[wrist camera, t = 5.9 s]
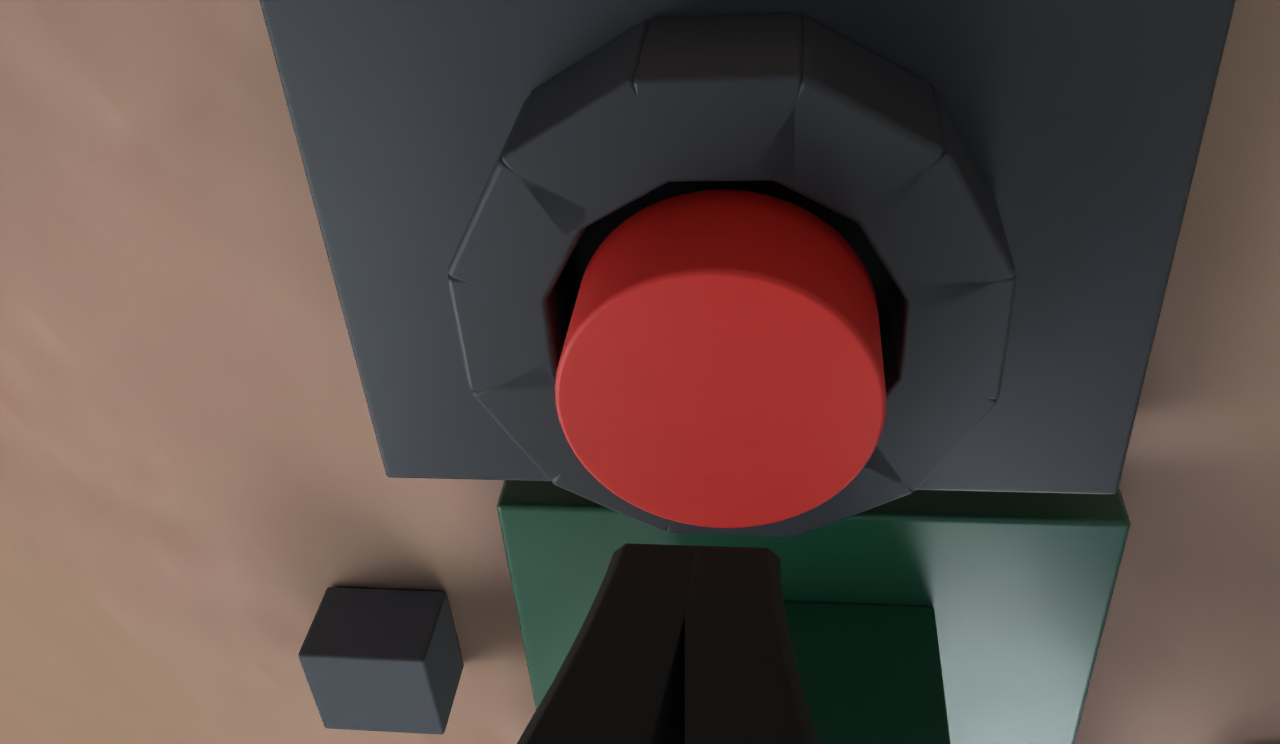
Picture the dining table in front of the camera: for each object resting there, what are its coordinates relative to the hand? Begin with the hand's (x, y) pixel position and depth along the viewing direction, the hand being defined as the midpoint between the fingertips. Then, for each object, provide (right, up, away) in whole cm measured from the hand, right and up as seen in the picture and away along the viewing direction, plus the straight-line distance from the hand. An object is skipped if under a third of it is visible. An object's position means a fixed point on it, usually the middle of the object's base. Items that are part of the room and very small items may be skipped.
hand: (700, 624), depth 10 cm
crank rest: (-5, -3, +13) cm, 14 cm away
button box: (+1, +5, +6) cm, 8 cm away
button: (0, +3, +4) cm, 5 cm away
